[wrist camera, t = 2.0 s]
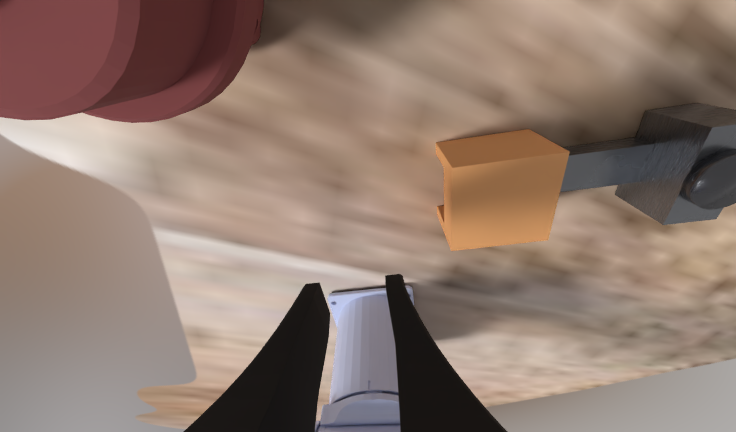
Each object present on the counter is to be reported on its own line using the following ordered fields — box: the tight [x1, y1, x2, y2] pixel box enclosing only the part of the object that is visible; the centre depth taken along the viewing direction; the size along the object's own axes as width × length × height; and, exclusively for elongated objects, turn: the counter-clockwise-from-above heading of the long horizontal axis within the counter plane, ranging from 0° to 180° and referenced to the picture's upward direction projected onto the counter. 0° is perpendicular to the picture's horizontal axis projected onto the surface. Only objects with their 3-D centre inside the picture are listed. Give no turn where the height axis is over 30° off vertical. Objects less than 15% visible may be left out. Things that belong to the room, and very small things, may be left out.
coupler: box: [560, 103, 736, 225], centre depth 17 cm, size 6×10×5 cm, turn 99°
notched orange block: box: [436, 129, 570, 251], centre depth 18 cm, size 6×6×4 cm
